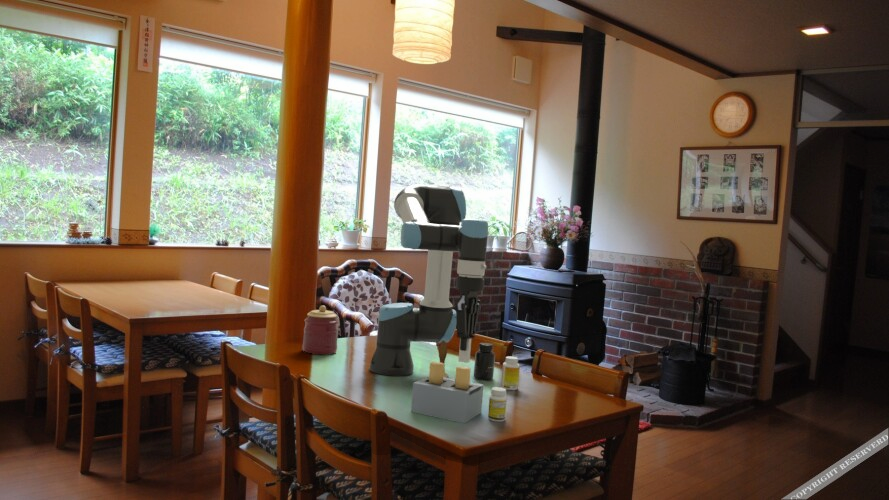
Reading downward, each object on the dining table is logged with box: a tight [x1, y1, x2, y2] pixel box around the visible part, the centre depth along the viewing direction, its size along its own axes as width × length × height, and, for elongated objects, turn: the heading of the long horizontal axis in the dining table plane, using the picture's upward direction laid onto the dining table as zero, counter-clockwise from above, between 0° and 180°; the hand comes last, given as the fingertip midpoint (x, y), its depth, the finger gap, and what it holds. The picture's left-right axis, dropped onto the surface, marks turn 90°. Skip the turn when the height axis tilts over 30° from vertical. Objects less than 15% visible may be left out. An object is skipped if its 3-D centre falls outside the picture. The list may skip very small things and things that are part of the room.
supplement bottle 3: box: [500, 355, 521, 391], centre depth 214 cm, size 6×6×10 cm
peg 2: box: [454, 366, 472, 390], centre depth 180 cm, size 4×4×8 cm
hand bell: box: [438, 340, 450, 378], centre depth 203 cm, size 8×8×16 cm
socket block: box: [410, 376, 484, 424], centre depth 181 cm, size 16×12×8 cm
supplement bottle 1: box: [473, 342, 496, 381], centre depth 225 cm, size 7×7×12 cm
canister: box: [302, 305, 340, 356], centre depth 248 cm, size 13×13×18 cm
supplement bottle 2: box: [487, 386, 508, 423], centre depth 178 cm, size 5×5×8 cm
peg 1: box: [428, 361, 445, 384], centre depth 183 cm, size 4×4×8 cm
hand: (464, 361), depth 179 cm, fingers closed
